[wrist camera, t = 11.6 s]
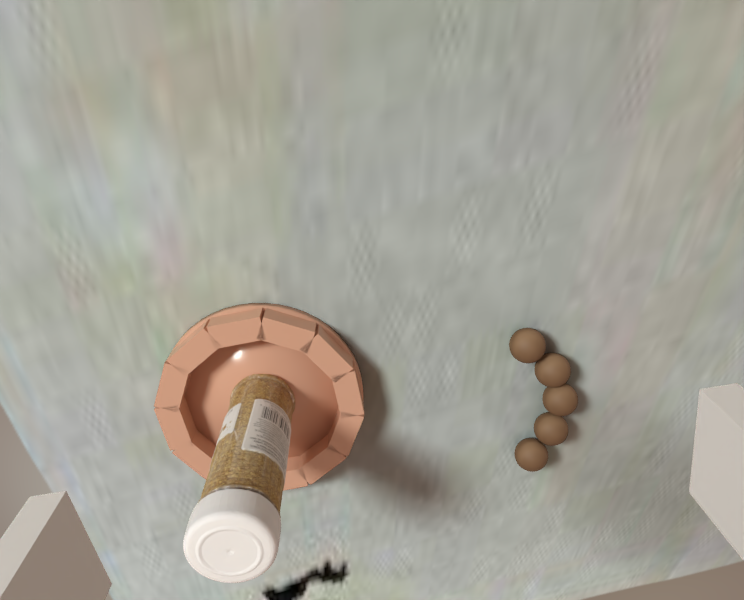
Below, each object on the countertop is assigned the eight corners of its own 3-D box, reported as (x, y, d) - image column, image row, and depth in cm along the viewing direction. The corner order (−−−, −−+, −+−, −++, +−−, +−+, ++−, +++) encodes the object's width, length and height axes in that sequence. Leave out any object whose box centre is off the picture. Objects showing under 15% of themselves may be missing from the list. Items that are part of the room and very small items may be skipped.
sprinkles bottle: (219, 385, 39) (162, 534, 26) (279, 361, 38) (251, 502, 26) (249, 435, 40) (209, 598, 28) (307, 413, 40) (293, 569, 27)
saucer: (135, 324, 37) (123, 339, 35) (341, 285, 37) (341, 298, 35) (198, 487, 43) (190, 509, 41) (378, 454, 43) (380, 474, 40)
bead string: (498, 326, 39) (507, 342, 37) (566, 313, 39) (580, 328, 37) (512, 460, 43) (521, 481, 41) (573, 448, 43) (586, 469, 41)
